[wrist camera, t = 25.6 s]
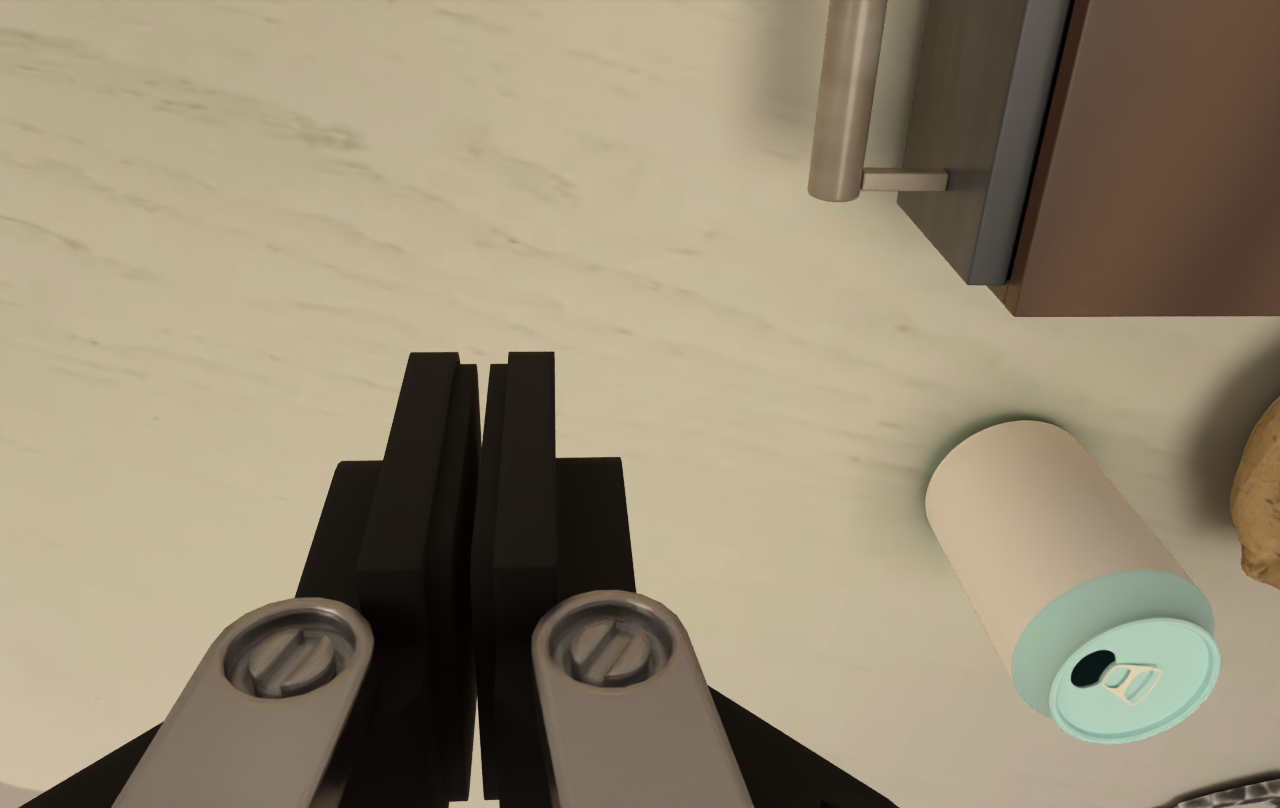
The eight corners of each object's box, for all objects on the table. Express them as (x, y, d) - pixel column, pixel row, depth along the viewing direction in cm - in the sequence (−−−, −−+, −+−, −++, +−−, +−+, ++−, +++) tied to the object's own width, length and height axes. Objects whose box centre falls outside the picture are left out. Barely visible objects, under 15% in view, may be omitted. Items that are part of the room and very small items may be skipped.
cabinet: (917, 210, 38) (1013, 317, 30) (980, -145, 32) (1119, -128, 24) (1266, 213, 39) (1446, 316, 31) (1388, -131, 33) (1647, -109, 25)
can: (932, 563, 47) (1040, 779, 36) (909, 438, 43) (1022, 639, 33) (1086, 521, 46) (1241, 729, 36) (1075, 391, 43) (1244, 581, 32)
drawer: (777, 202, 36) (824, 286, 30) (811, -128, 31) (877, -110, 25) (1227, 205, 38) (1362, 286, 32) (1333, -110, 33) (1520, -89, 26)
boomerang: (1390, 793, 56) (1337, 848, 59) (1381, 782, 57) (1329, 836, 60) (1185, 772, 54) (1140, 830, 57) (1178, 760, 55) (1133, 818, 57)
